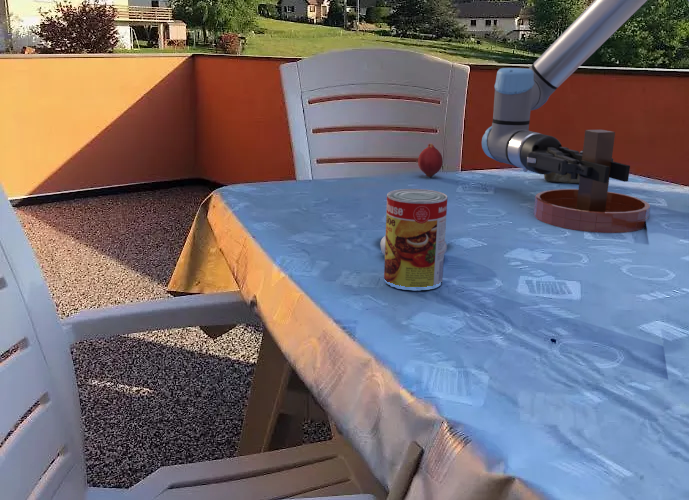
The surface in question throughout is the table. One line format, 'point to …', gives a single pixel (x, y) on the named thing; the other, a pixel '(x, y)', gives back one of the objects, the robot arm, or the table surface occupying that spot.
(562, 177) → the stone block
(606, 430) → the table surface
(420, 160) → the onion
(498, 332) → the table surface
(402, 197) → the canned food
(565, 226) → the bowl
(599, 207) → the stick
